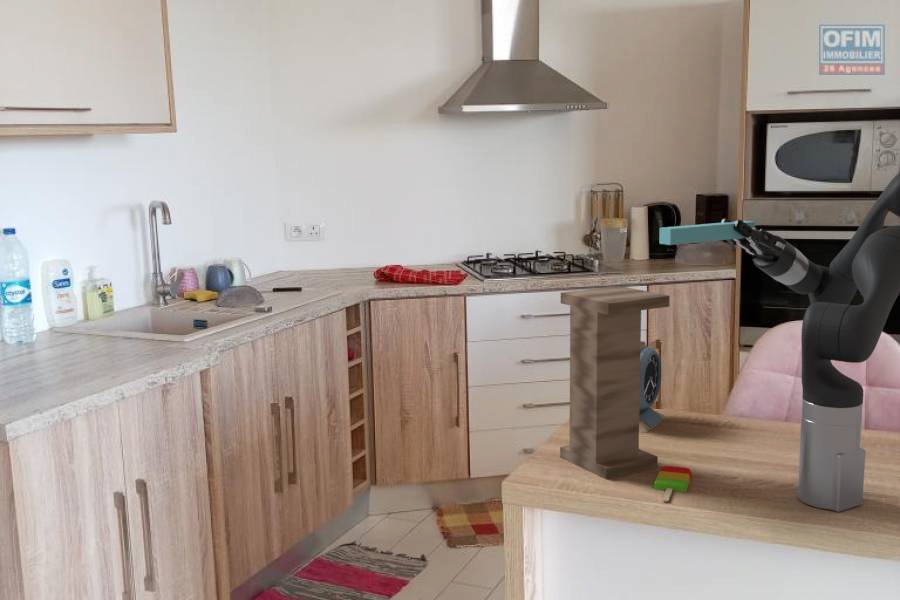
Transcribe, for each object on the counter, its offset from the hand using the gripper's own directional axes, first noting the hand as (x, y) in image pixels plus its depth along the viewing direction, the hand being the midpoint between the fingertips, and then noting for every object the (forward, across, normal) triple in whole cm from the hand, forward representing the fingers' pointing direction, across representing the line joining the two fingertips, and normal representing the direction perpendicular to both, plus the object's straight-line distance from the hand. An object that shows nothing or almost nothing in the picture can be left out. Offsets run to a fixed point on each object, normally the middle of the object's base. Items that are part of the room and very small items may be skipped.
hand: (729, 223), depth 183 cm
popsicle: (+3, +16, +52) cm, 55 cm away
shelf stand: (+3, 0, +52) cm, 52 cm away
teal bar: (+3, 0, +5) cm, 6 cm away
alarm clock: (-14, -17, +42) cm, 48 cm away
